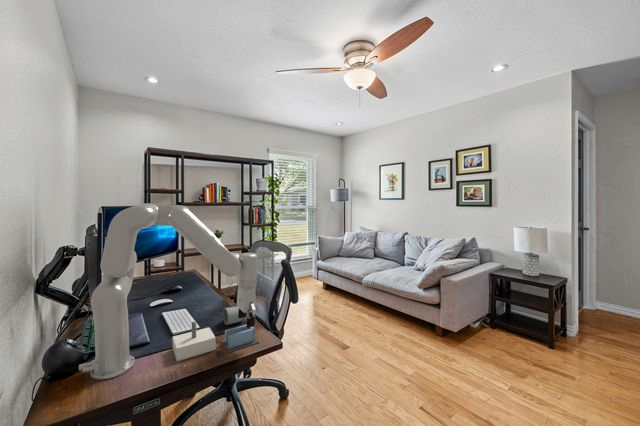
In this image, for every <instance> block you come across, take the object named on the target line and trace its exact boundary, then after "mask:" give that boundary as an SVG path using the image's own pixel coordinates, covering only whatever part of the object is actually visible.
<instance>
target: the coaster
mask: <svg viewBox="0 0 640 426" xmlns="http://www.w3.org/2000/svg"><path fill="white" fill-rule="evenodd" d="M220 342H221V343H222V345H223V347H224V348H225V350H226V351H227V353H232V352H235V351H238V350H241V349H244V348H249V347H251V346H253V345H257V344H260V341H259V340H258V338H257V337H256V336H255V341H252V342H249V343H245V344H242V345H239V346H236V347H233V348H229V347H228V343H225V338H224V339H221V340H220Z"/></svg>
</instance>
